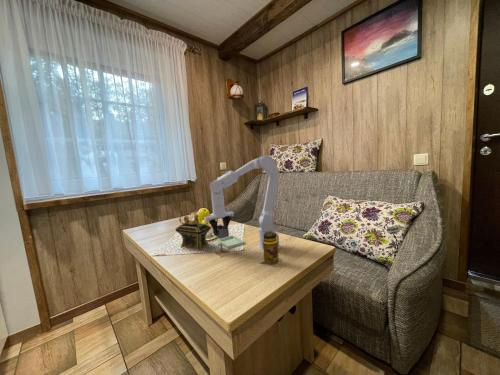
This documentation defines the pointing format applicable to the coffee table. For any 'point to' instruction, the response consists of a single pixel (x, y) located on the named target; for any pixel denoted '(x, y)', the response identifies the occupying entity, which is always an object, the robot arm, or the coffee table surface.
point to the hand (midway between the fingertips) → (221, 233)
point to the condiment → (270, 250)
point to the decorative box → (193, 233)
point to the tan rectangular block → (222, 251)
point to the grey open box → (222, 231)
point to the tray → (230, 241)
